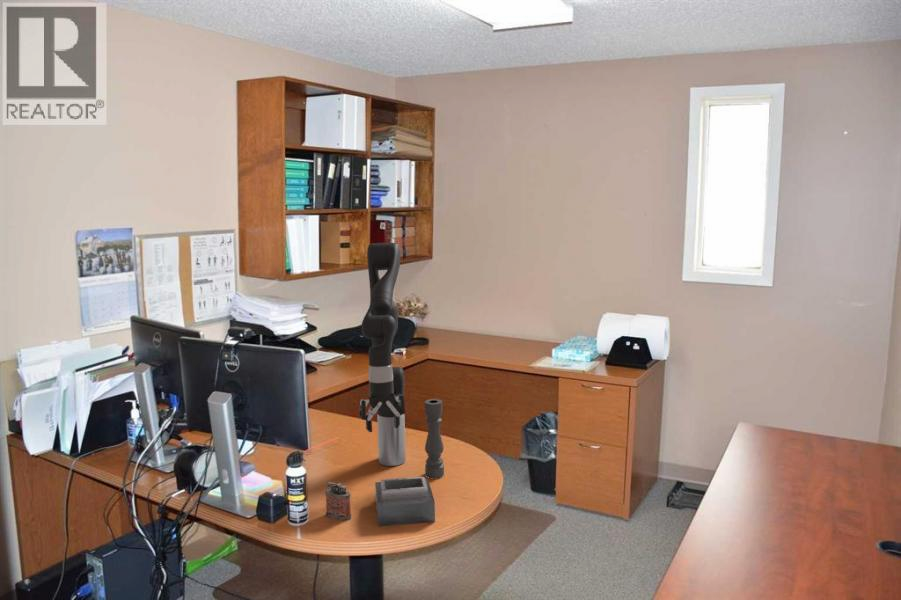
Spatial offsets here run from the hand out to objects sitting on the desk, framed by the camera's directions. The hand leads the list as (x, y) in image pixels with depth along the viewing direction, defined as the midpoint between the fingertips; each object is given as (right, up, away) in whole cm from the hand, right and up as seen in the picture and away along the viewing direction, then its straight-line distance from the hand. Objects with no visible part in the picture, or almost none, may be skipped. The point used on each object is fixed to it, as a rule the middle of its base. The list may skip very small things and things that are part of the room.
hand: (383, 429), depth 222 cm
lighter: (-11, -22, -18) cm, 30 cm away
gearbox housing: (+8, -21, -15) cm, 27 cm away
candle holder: (+16, -17, +10) cm, 25 cm away
